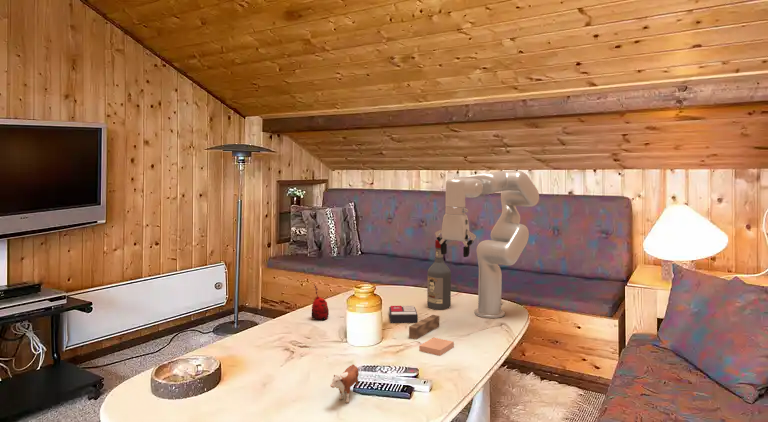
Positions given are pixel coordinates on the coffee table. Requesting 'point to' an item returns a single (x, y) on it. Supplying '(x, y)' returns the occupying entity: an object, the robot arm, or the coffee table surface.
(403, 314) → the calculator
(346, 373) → the bull figurine
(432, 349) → the tile
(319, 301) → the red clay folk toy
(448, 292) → the liquor
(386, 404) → the coffee table surface
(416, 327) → the stick
